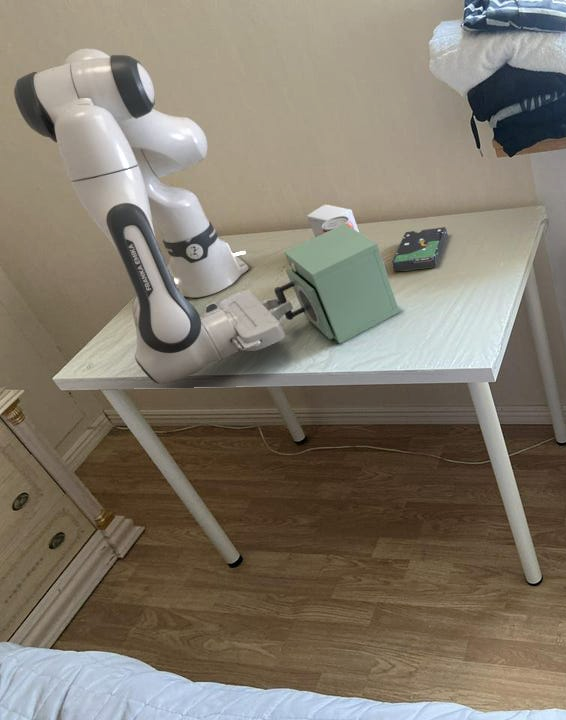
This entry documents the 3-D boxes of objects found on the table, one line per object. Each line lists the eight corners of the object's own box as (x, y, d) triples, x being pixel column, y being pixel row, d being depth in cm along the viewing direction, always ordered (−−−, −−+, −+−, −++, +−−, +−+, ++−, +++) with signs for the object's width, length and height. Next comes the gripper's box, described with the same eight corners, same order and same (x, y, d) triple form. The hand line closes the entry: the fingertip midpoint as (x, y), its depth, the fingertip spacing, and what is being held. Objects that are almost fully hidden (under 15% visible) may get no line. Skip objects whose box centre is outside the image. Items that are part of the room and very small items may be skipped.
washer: (338, 344, 138) (310, 275, 129) (309, 318, 149) (282, 252, 140) (399, 312, 143) (377, 243, 134) (367, 288, 154) (344, 223, 145)
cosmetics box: (319, 253, 174) (305, 215, 168) (338, 241, 178) (325, 203, 172) (346, 260, 168) (332, 220, 162) (365, 247, 172) (352, 208, 165)
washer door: (311, 349, 136) (290, 301, 130) (287, 324, 146) (267, 279, 139) (333, 337, 138) (314, 289, 131) (309, 314, 148) (289, 268, 141)
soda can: (363, 279, 158) (344, 228, 151) (334, 282, 160) (314, 231, 153) (372, 263, 164) (355, 213, 156) (344, 266, 166) (326, 216, 158)
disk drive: (407, 242, 169) (394, 272, 158) (404, 232, 168) (390, 262, 156) (448, 236, 167) (438, 267, 155) (446, 226, 165) (435, 256, 154)
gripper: (233, 339, 128) (301, 306, 133) (203, 302, 143) (265, 273, 148) (247, 366, 131) (312, 333, 136) (216, 327, 146) (276, 298, 151)
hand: (288, 301), depth 142 cm, fingers closed on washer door
